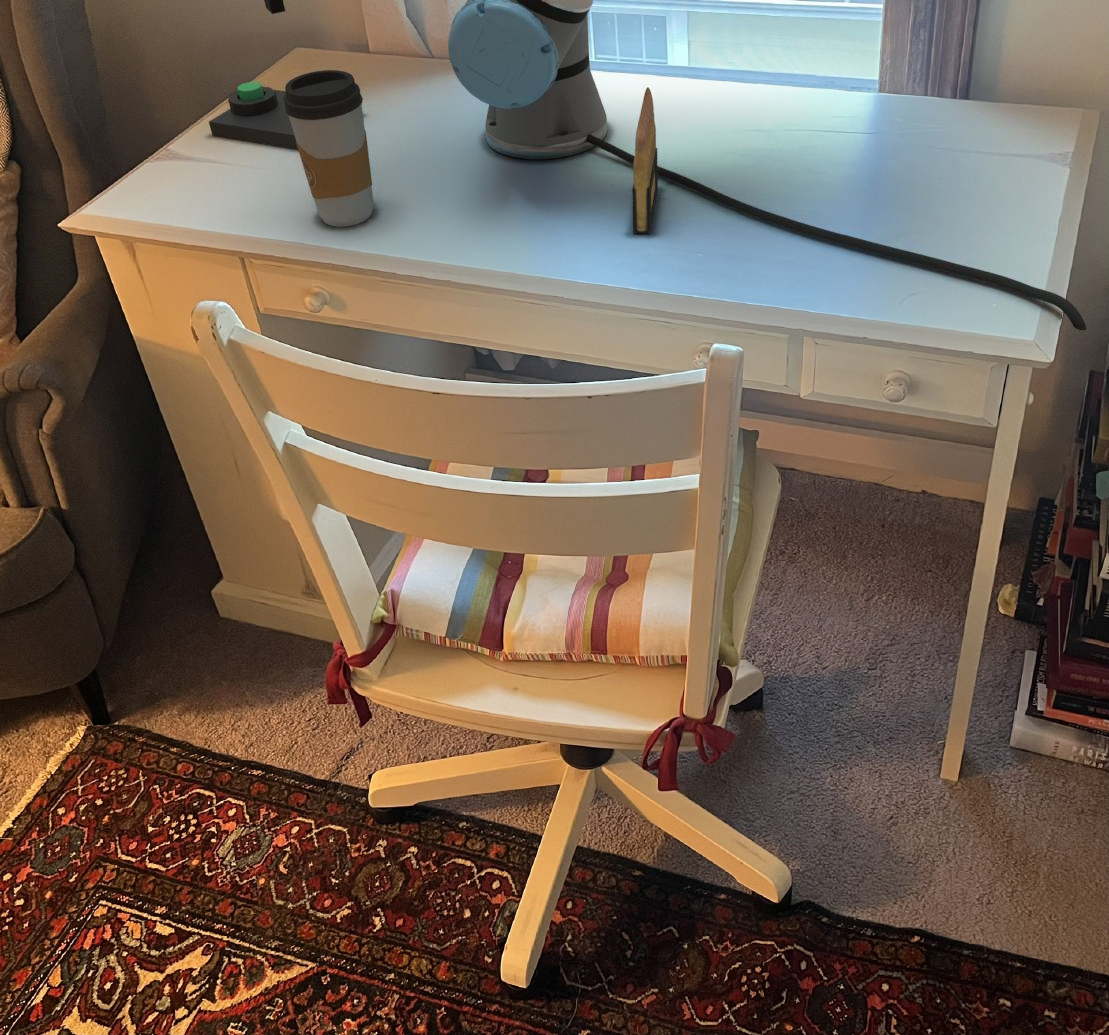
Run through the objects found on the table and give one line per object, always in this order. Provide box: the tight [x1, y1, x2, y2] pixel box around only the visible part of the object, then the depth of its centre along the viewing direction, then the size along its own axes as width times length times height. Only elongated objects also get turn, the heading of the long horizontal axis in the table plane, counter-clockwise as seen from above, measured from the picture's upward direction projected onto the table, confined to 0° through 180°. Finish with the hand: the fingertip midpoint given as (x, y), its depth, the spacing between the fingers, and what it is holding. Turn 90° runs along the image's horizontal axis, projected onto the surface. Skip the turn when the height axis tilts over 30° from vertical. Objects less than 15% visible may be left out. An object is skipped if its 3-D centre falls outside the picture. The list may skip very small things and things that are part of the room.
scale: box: [208, 85, 298, 150], centre depth 144 cm, size 16×12×4 cm
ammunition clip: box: [631, 87, 659, 235], centre depth 116 cm, size 11×2×12 cm, turn 172°
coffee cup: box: [284, 69, 375, 228], centre depth 120 cm, size 8×8×15 cm
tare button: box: [237, 81, 264, 101], centre depth 145 cm, size 3×3×2 cm
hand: (275, 9), depth 120 cm, fingers closed
